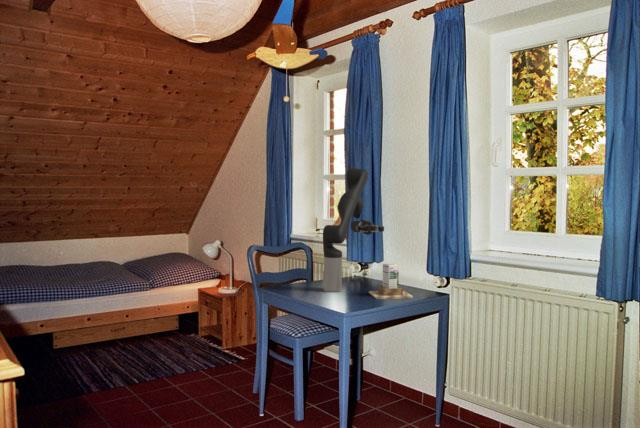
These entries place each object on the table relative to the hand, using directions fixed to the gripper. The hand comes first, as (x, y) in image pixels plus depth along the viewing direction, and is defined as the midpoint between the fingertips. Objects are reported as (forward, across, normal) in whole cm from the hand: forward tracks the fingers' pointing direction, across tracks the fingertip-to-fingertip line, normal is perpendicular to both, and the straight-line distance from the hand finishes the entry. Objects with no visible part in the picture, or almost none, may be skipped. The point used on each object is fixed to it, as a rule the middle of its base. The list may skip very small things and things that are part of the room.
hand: (373, 229), depth 283 cm
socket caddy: (+20, +4, +31) cm, 37 cm away
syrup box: (+20, +4, +30) cm, 36 cm away
